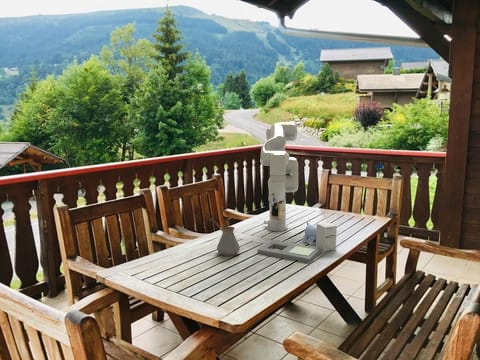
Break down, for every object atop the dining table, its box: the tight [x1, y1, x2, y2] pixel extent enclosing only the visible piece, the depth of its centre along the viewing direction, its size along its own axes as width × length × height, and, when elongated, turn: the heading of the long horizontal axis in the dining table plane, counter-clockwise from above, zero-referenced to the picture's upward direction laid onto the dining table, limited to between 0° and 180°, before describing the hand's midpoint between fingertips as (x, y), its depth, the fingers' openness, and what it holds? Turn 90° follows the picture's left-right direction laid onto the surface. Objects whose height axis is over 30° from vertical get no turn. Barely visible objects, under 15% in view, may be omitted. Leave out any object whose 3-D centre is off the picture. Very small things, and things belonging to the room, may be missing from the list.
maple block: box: [271, 201, 284, 221], centre depth 204 cm, size 5×5×8 cm
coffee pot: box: [210, 217, 241, 257], centre depth 207 cm, size 21×12×15 cm, turn 36°
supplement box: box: [315, 222, 338, 252], centre depth 208 cm, size 7×7×13 cm
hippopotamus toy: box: [301, 221, 317, 245], centre depth 220 cm, size 11×15×10 cm
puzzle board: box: [256, 240, 322, 264], centre depth 203 cm, size 27×16×2 cm, turn 60°
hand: (277, 214), depth 204 cm, fingers closed on maple block, 5 cm apart
